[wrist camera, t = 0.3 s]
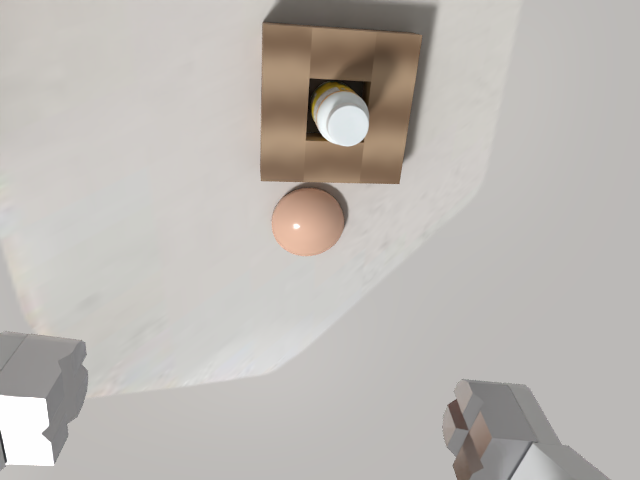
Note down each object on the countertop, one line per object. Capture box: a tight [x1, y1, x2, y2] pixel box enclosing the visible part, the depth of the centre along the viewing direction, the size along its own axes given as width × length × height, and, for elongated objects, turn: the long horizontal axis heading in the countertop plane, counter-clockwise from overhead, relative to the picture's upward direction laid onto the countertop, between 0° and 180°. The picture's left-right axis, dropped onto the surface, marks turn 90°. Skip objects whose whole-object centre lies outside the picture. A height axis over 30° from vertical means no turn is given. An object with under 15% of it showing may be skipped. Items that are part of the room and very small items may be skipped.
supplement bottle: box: [310, 81, 369, 146], centre depth 50 cm, size 5×5×10 cm
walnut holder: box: [260, 22, 422, 184], centre depth 52 cm, size 16×16×4 cm
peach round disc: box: [272, 188, 344, 256], centre depth 60 cm, size 9×9×1 cm
